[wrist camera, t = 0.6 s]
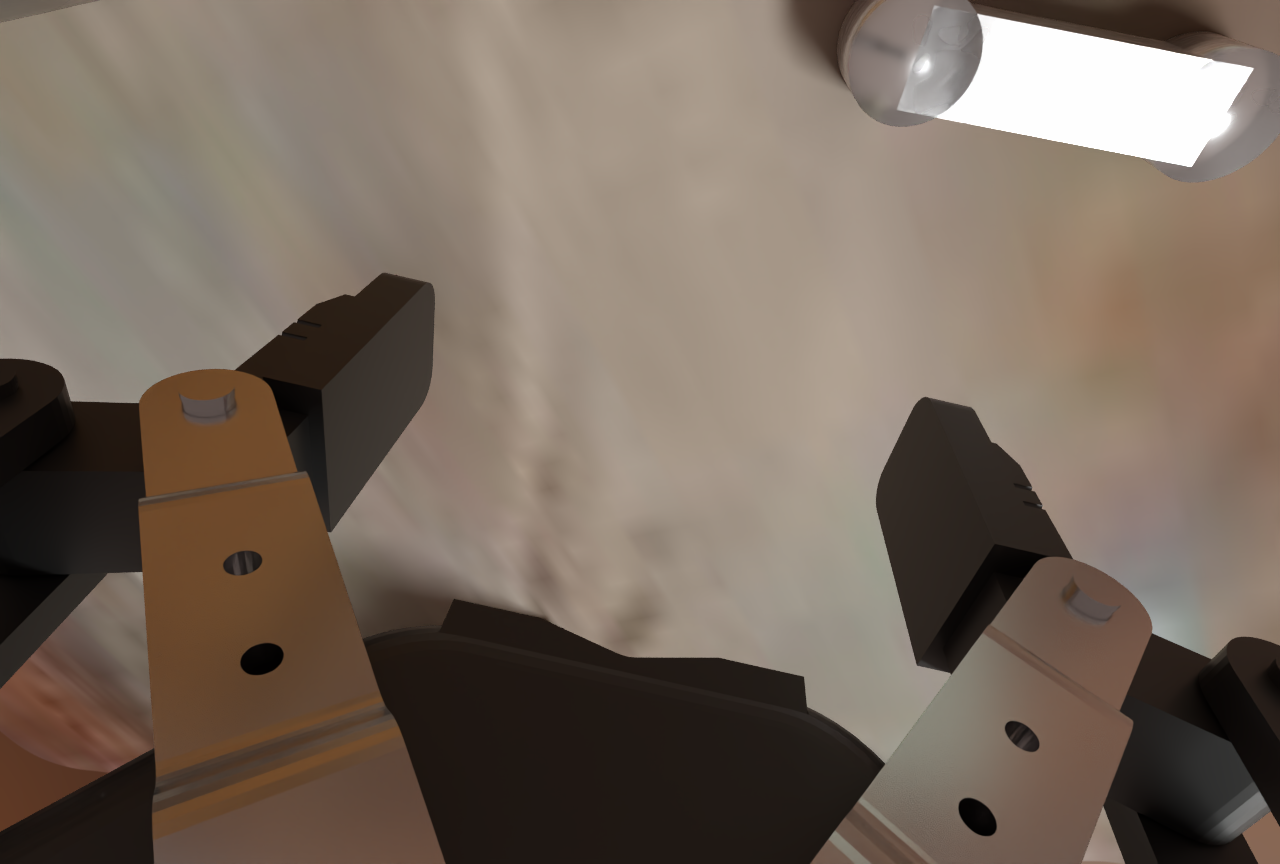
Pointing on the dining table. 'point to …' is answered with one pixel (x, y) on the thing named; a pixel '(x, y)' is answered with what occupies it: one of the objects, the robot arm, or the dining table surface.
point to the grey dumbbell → (1065, 82)
